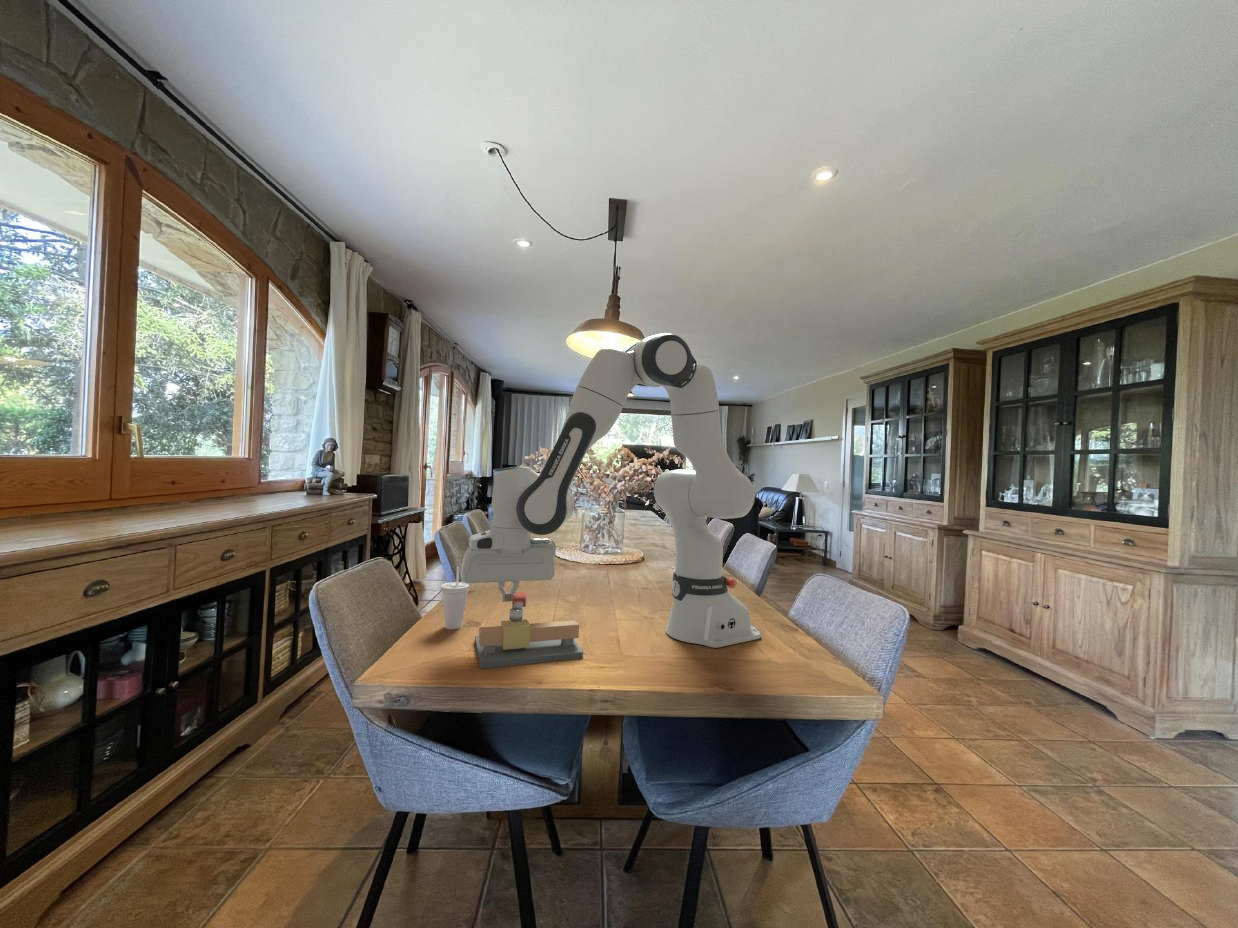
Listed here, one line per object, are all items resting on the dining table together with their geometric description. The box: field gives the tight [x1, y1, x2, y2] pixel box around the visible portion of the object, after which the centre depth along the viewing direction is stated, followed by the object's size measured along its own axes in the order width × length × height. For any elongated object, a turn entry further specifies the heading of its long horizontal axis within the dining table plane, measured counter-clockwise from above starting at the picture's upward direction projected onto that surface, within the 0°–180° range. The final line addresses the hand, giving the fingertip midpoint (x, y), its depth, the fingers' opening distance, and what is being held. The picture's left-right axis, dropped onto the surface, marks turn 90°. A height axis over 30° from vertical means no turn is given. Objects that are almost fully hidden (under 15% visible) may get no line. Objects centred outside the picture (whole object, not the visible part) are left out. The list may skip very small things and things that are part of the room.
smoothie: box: [440, 566, 470, 630], centre depth 114 cm, size 6×6×14 cm
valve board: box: [474, 618, 584, 669], centre depth 102 cm, size 20×14×7 cm
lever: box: [508, 591, 528, 621], centre depth 105 cm, size 13×3×2 cm, turn 7°
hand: (507, 600), depth 109 cm, fingers closed
